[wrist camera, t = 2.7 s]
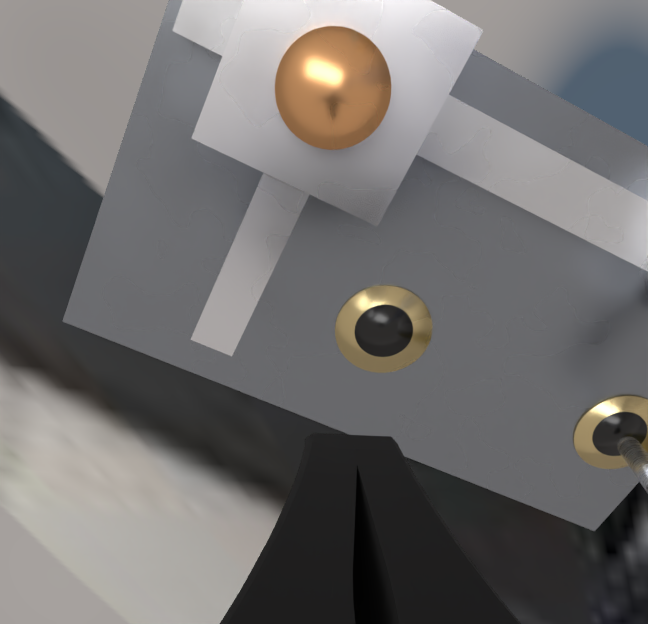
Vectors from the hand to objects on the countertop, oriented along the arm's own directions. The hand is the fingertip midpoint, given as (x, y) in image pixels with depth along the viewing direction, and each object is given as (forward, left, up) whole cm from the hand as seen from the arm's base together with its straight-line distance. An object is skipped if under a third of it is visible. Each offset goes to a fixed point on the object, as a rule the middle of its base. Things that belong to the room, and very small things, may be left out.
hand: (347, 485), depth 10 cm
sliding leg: (+3, -3, -9) cm, 9 cm away
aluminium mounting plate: (-3, -1, -10) cm, 10 cm away
